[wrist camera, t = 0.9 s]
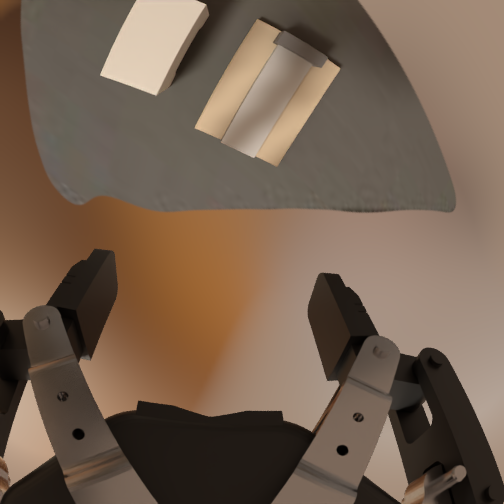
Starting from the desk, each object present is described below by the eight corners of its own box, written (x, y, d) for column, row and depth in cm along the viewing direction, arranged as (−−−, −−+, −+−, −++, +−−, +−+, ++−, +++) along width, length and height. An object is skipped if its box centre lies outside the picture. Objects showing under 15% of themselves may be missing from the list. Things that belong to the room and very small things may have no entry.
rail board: (195, 125, 27) (192, 134, 24) (256, 20, 21) (261, 15, 18) (275, 163, 30) (281, 175, 28) (336, 67, 24) (350, 70, 22)
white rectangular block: (168, 88, 24) (155, 97, 20) (122, 71, 23) (99, 77, 18) (209, 15, 21) (206, 4, 16) (161, -3, 19) (146, -16, 14)
